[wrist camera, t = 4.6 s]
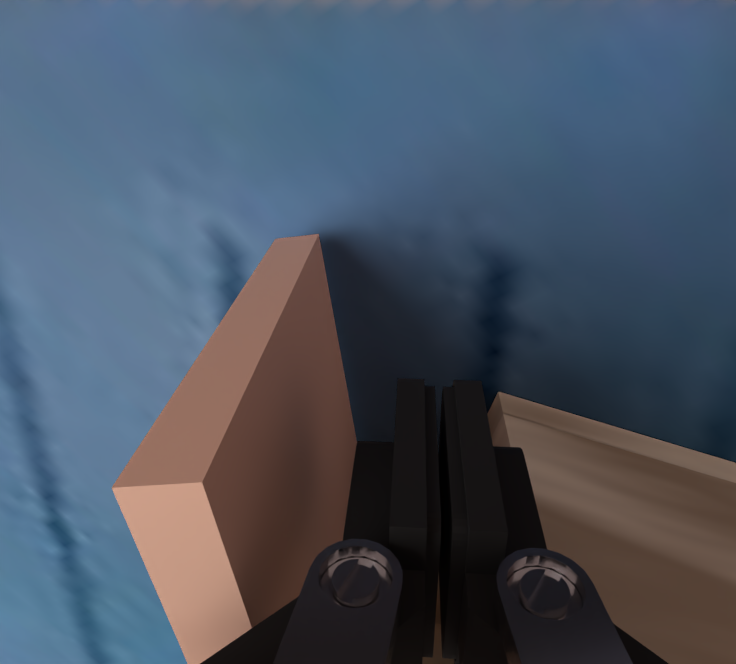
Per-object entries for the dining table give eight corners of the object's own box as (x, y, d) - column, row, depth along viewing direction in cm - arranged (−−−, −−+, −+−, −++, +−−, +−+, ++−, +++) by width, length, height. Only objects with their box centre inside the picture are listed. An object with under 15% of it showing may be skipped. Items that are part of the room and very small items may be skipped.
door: (387, 609, 23) (369, 970, 14) (326, 611, 23) (271, 966, 14) (318, 234, 16) (202, 482, 7) (233, 243, 16) (25, 492, 8)
